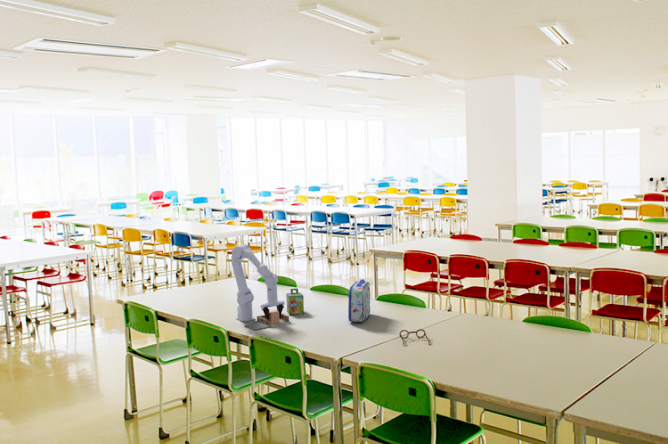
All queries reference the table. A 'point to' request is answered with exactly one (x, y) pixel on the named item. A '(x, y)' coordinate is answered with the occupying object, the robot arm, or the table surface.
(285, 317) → the walnut stall
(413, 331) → the glasses
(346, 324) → the table surface
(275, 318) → the terracotta block
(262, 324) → the slate mat
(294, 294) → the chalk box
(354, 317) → the lunch box
